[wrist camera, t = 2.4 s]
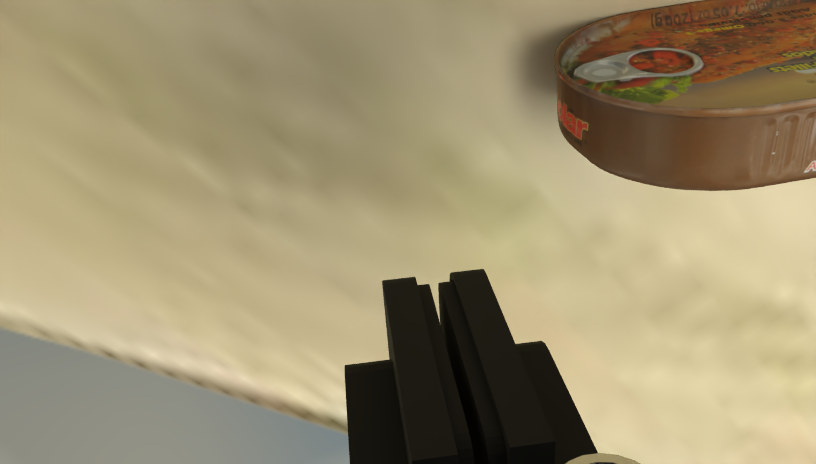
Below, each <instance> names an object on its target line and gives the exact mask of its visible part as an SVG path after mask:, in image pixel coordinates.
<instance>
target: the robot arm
mask: <svg viewBox="0 0 816 464" xmlns="http://www.w3.org/2000/svg"><path fill="white" fill-rule="evenodd" d="M382 284H383V296H384V306H385V316H386V327H387V337H388V348H389V358H390V360H384V361H376V362H368V363H359V364H351V365H345V385H346V403H347V420H348V438H349V455H350V464H640V463H638V462H636V461H635V460H632V459H628V458H625V457H622V456H619V455H614V454H604V453H598V452H597V450H596V448H595V446H594V444H593V442H592V440H591V437H590V435H589V433H588V431H587V429H586V427H585V425H584V423H583V421H582V419H581V417H580V414H579V412H578V410H577V408H576V406H575V404H574V402H573V400H572V398H571V396H570V394H569V391H568V389H567V387H566V385H565V383H564V381H563V379H562V377H561V375H560V373H559V370H558V368H557V366H556V364H555V362H554V360H553V358H552V356H551V354H550V352H549V350H548V348H547V346H546V345H545V343H544V342H542V341H537V342H529V343H521V344H515V342H514V340H513V337H512V335H511V333H510V330H509V328H508V325H507V323H506V321H505V318H504V316H503V313H502V311H501V308H500V306H499V304H498V301H497V299H496V296H495V294H494V292H493V289H492V287H491V284H490V282H489V279H488V277H487V275H486V272H485V271H484V269H479V270H470V271H461V272H453V273H450V282H442V283H439V287H438V289H439V309H440V322H439V319H438V315H437V311H436V307H435V304H434V300H433V296H432V293H431V289H430V286H429V284H425V285H417V282H416V278H415V277H410V278H401V279H392V280H384V281H382Z"/></svg>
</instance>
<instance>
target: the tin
mask: <svg viewBox="0 0 816 464" xmlns="http://www.w3.org/2000/svg"><path fill="white" fill-rule="evenodd" d="M554 66H555V69H556V71H557V113H558V122H559V126H560V129H561V132H562V134H563V136H564V137H565V139H566V140H567V141H568V142H569V143H570V144H571V145H572V146H573V147H574V148H575V149H576V150H577V151H578V152H579V153H581V154H582V155H583V156H584V157H586V158H587V159H588V160H589V161H590V162H591V163H593V164H594V165H596V166H597V167H599V168H600V169H602V170H604V171H606V172H608V173H611V174H614V175H616V176H619V177H622V178H625V179H628V180H632V181H636V182H640V183H644V184H649V185H653V186H658V187H665V188H672V189H683V190H705V191H719V190H740V189H750V188H756V187H764V186H769V185H775V184H781V183H786V182H792V181H799V180H805V179H810V178H816V0H705V1H698V2H692V3H686V4H680V5H674V6H667V7H661V8H654V9H648V10H642V11H636V12H631V13H626V14H621V15H617V16H612V17H610V18H607V19H603V20H600V21H597V22H595V23H592V24H589V25H587V26H585V27H583V28H581V29H579V30H577V31H575V32H573V33H572V34H570V35H569V36H568V37H567V38H565V39H564V40H563V41H562V42H561V43H560V45H559V46H558V47H557V49H556V51H555V55H554Z"/></svg>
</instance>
